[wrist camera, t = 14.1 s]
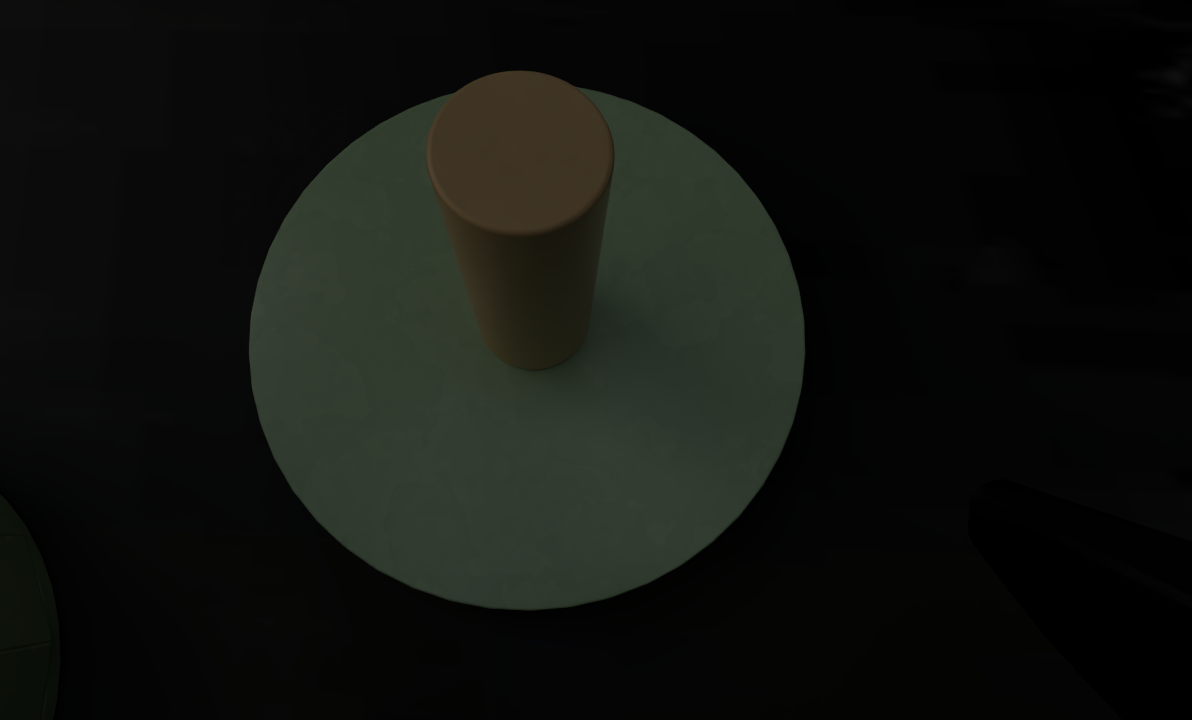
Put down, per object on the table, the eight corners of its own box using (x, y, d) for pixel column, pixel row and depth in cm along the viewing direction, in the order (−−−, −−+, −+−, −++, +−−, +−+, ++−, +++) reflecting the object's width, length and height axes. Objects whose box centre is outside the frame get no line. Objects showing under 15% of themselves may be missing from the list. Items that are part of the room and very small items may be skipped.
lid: (778, 639, 16) (1008, 727, 8) (205, 569, 15) (-166, 587, 7) (798, 145, 19) (968, -139, 11) (335, 80, 19) (179, -258, 11)
